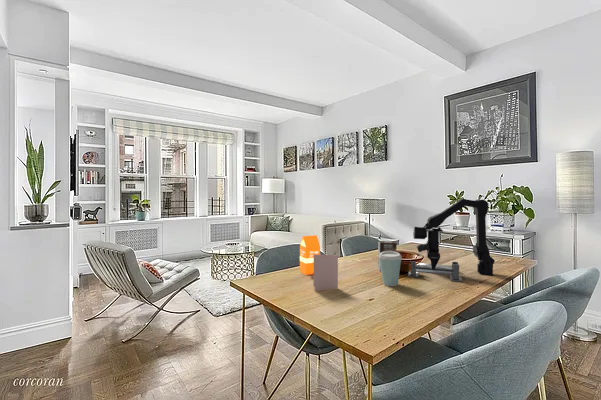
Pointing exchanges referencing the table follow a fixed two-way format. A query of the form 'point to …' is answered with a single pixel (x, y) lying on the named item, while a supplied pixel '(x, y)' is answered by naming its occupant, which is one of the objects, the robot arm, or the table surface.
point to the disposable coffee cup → (390, 267)
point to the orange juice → (308, 253)
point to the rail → (438, 267)
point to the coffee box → (385, 248)
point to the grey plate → (434, 271)
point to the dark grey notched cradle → (453, 277)
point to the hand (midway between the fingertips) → (433, 267)
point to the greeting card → (325, 272)
